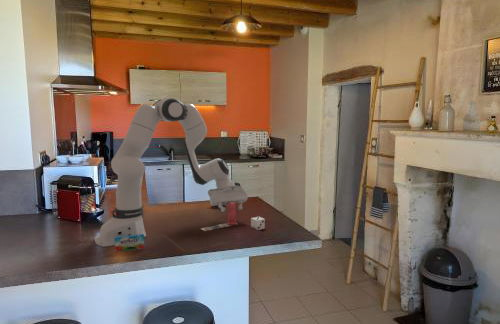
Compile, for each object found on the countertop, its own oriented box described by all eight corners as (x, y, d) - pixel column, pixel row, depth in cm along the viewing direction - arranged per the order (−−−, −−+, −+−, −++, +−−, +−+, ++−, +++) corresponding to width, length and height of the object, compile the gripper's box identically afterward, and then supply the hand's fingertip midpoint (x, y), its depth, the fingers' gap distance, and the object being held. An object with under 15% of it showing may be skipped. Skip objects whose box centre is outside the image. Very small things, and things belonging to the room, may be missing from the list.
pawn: (230, 225, 180) (230, 203, 179) (225, 223, 184) (225, 202, 182) (238, 223, 183) (237, 202, 181) (233, 221, 187) (232, 200, 185)
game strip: (206, 235, 168) (206, 233, 168) (194, 228, 178) (194, 227, 178) (244, 227, 181) (244, 225, 181) (231, 221, 190) (231, 219, 190)
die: (256, 230, 176) (256, 220, 175) (250, 227, 180) (250, 217, 179) (264, 228, 179) (264, 218, 178) (258, 225, 183) (258, 216, 182)
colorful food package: (115, 252, 148) (114, 237, 147) (115, 250, 149) (114, 236, 148) (144, 248, 152) (144, 235, 151) (144, 247, 153) (144, 233, 152)
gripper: (208, 186, 183) (214, 209, 175) (244, 183, 191) (251, 204, 184) (205, 192, 187) (211, 215, 180) (240, 189, 196) (248, 211, 188)
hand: (232, 210), depth 182 cm, fingers open, 8 cm apart
